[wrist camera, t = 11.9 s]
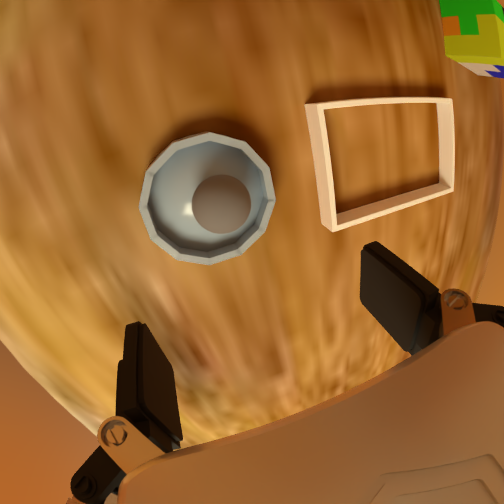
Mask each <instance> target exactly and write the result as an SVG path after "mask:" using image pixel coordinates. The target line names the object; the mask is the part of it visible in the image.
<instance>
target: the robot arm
mask: <svg viewBox="0 0 504 504" xmlns="http://www.w3.org/2000/svg"><path fill="white" fill-rule="evenodd" d="M360 300H361V302H362V304H363V305H364V306H365V307H366V309H367V310H368V311H369V312H370V313H371V314H372V315H373V316H374V317H375V318H376V320H377V321H378V322H379V323H380V324H381V325H382V326H383V327H384V328H385V330H386V331H387V332H388V333H389V334H390V335H391V336H392V337H393V339H394V340H395V341H396V342H397V343H398V344H399V345H400V347H401V348H402V349H403V350H404V351H406V352H407V351H408V352H409V353H410V354H411V355H412V356H411V357H409V358H408V359H406V360H404V361H403V362H401V363H399V364H397V365H396V366H394V367H392V368H391V369H389V370H387V371H385V372H383V373H382V374H380V375H378V376H376V377H374V378H372V379H370V380H368V381H367V382H365V383H363V384H361V385H359V386H357V387H355V388H353V389H351V390H349V391H347V392H344V393H342V394H340V395H338V396H336V397H334V398H332V399H329V400H327V401H325V402H323V403H320V404H318V405H316V406H313V407H311V408H309V409H306V410H304V411H301V412H299V413H296V414H294V415H291V416H288V417H286V418H283V419H280V420H278V421H275V422H272V423H269V424H266V425H264V426H261V427H258V428H255V429H251V430H248V431H245V432H242V433H238V434H235V435H232V436H228V437H225V438H221V439H218V440H214V441H211V442H207V443H203V444H199V445H195V446H191V447H187V448H184V449H180V450H176V451H173V450H174V449H179V448H181V447H180V442H179V441H182V440H183V435H182V429H181V423H180V417H179V410H178V403H177V396H176V388H175V380H174V372H173V368H172V366H171V364H170V362H169V361H168V359H167V358H166V356H165V355H164V353H163V351H162V350H161V348H160V347H159V345H158V343H157V342H156V340H155V338H154V337H153V335H152V333H151V332H150V330H149V328H148V327H147V325H146V324H141V322H139V321H138V322H135V323H132V324H128V325H126V328H125V339H124V351H123V360H120V361H119V363H118V371H117V389H116V416H113V417H110V418H108V419H106V420H105V421H104V422H103V423H102V424H101V425H100V427H99V429H98V434H97V438H98V442H99V443H100V446H99V447H98V448H97V449H96V450H95V451H94V452H93V454H92V455H91V456H90V457H89V458H88V459H87V460H86V461H85V463H84V464H83V465H82V466H81V467H80V468H79V470H78V471H77V472H76V473H75V474H74V476H73V477H72V479H71V491H72V494H73V497H72V499H71V498H68V500H67V503H66V504H504V307H503V306H496V305H487V304H478V303H472V301H471V299H470V297H469V296H468V294H467V293H465V292H464V291H462V290H459V289H448V290H445V291H444V292H443V293H442V295H441V294H440V293H439V289H438V288H437V287H436V286H434V285H433V284H432V283H431V282H429V281H428V280H427V279H426V278H425V277H423V276H422V275H421V274H419V273H418V272H417V271H416V270H414V269H413V268H412V267H411V266H409V265H408V264H407V263H405V262H404V261H403V260H401V259H400V258H399V257H398V256H396V255H395V254H394V253H392V252H391V251H390V250H388V249H387V248H385V247H384V246H383V245H381V244H380V243H379V242H377V241H374V242H372V243H369V244H366V245H364V247H363V250H362V251H361V278H360Z"/></svg>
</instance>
